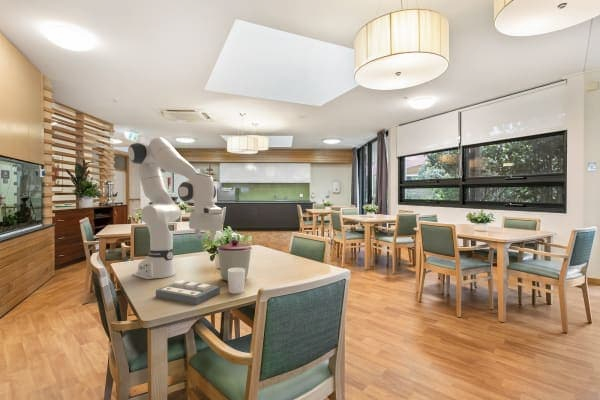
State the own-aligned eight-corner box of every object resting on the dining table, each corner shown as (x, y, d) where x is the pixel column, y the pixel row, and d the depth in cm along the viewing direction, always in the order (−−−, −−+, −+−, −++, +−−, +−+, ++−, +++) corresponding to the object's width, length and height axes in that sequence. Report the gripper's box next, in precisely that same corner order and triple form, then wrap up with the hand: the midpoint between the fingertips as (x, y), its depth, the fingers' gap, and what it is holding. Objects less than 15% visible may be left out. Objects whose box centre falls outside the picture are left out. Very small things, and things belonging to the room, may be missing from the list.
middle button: (184, 290, 129) (185, 284, 129) (191, 287, 133) (191, 281, 133) (192, 291, 128) (192, 285, 128) (198, 288, 131) (198, 283, 131)
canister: (243, 285, 143) (244, 242, 143) (209, 282, 147) (210, 240, 147) (256, 275, 161) (257, 237, 161) (226, 273, 165) (226, 236, 164)
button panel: (155, 297, 125) (155, 289, 125) (181, 286, 139) (181, 279, 139) (196, 304, 117) (196, 296, 117) (219, 293, 131) (220, 285, 131)
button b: (196, 292, 127) (196, 286, 127) (203, 289, 130) (203, 283, 130) (204, 293, 125) (204, 287, 125) (210, 290, 129) (210, 284, 129)
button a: (173, 288, 132) (173, 282, 131) (180, 285, 135) (180, 280, 135) (180, 289, 130) (180, 283, 130) (187, 286, 134) (187, 281, 134)
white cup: (246, 288, 139) (246, 267, 139) (243, 294, 131) (243, 272, 131) (229, 288, 138) (229, 267, 138) (225, 294, 131) (226, 271, 130)
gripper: (185, 209, 135) (185, 239, 135) (212, 209, 123) (213, 242, 123) (197, 208, 140) (197, 237, 140) (224, 209, 128) (225, 240, 128)
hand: (205, 239), depth 132 cm, fingers open, 8 cm apart
